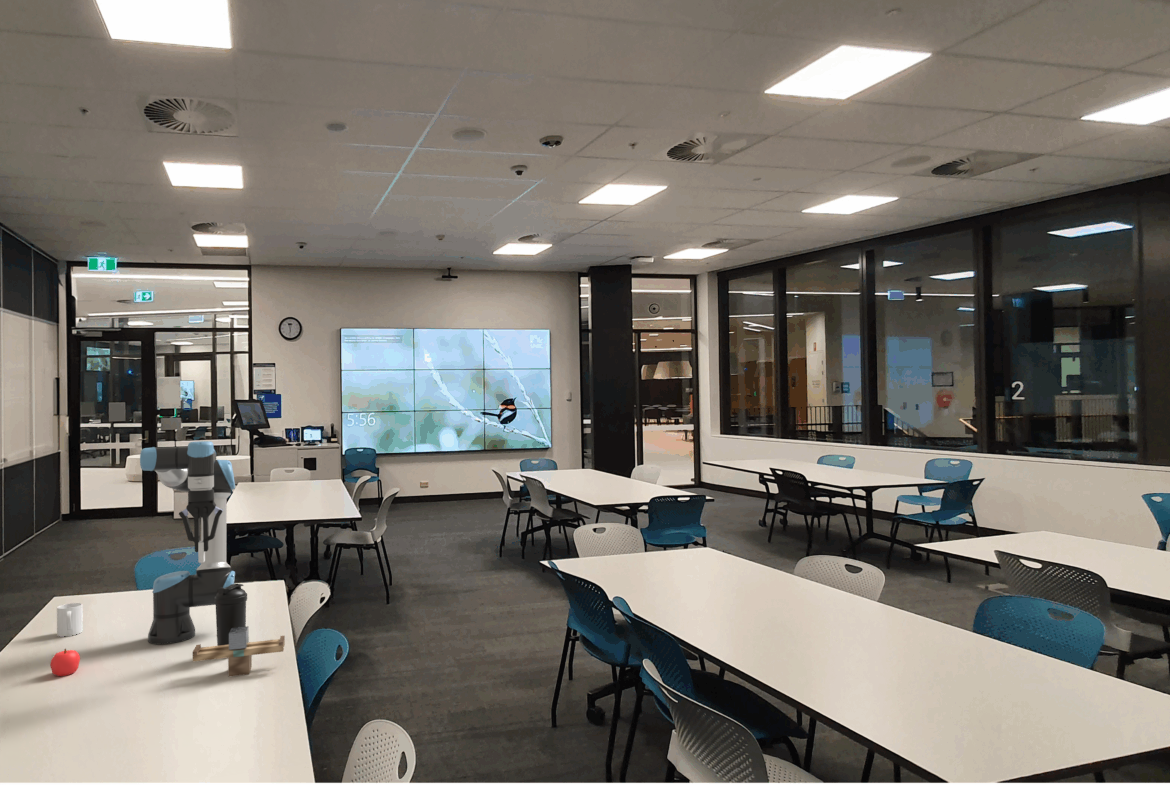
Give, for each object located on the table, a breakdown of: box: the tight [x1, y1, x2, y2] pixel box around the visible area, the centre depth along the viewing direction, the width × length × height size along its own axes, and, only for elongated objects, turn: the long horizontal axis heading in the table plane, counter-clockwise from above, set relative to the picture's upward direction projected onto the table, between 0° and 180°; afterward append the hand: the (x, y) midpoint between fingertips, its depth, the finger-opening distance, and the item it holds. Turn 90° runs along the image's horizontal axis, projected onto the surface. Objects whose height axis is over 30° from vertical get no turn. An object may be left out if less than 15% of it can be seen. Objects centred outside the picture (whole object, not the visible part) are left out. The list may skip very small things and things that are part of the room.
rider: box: [229, 625, 250, 650], centre depth 237 cm, size 5×6×7 cm
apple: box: [50, 648, 81, 677], centre depth 237 cm, size 8×8×8 cm
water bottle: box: [214, 583, 248, 646], centre depth 254 cm, size 10×10×23 cm
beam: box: [192, 635, 286, 678], centre depth 237 cm, size 26×7×9 cm, turn 109°
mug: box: [56, 602, 84, 638], centre depth 276 cm, size 12×8×10 cm, turn 32°
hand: (201, 561), depth 241 cm, fingers closed
